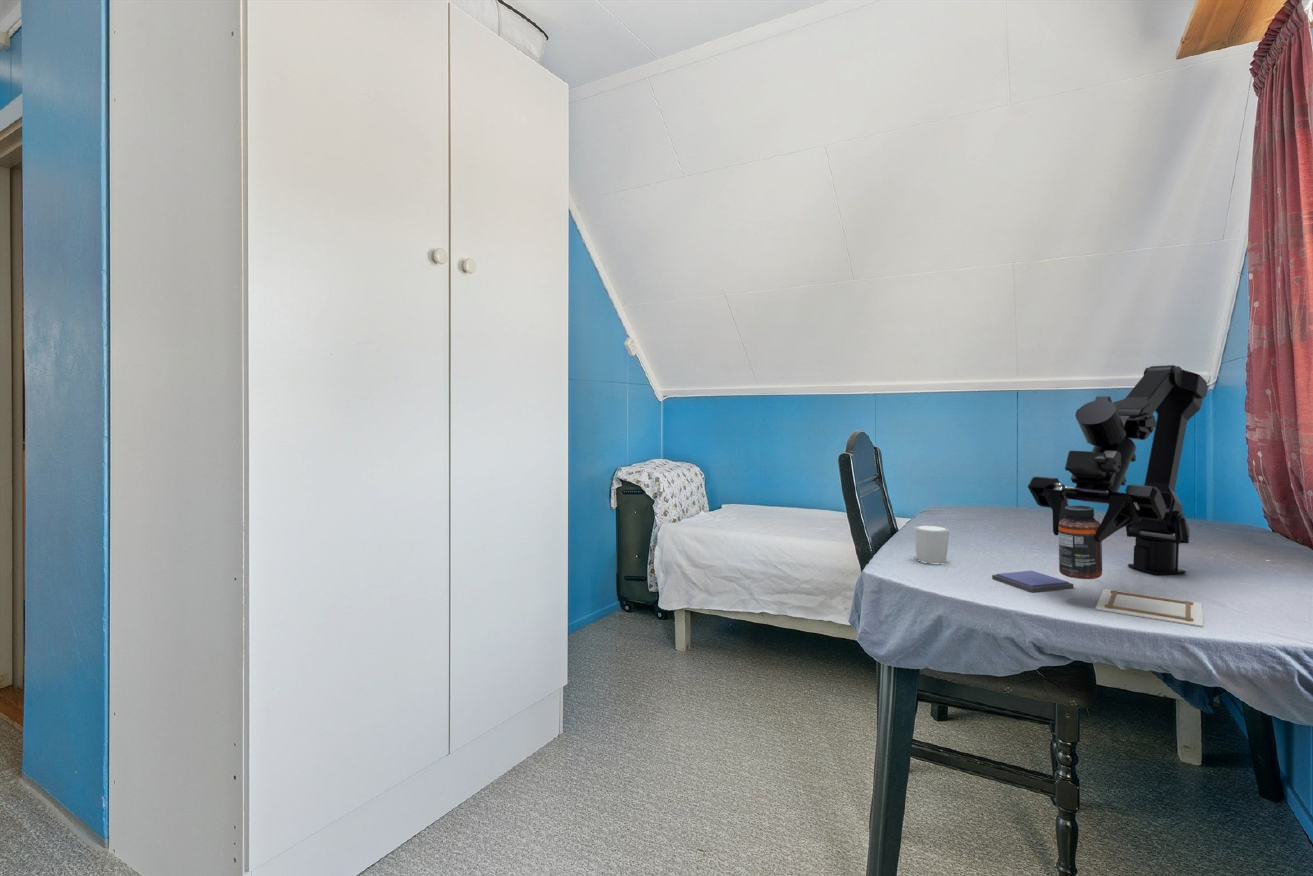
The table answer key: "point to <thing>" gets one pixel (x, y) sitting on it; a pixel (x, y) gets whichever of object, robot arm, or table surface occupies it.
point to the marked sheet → (1151, 607)
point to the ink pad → (1032, 581)
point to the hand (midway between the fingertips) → (1075, 537)
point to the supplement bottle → (1079, 544)
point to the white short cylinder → (931, 543)
